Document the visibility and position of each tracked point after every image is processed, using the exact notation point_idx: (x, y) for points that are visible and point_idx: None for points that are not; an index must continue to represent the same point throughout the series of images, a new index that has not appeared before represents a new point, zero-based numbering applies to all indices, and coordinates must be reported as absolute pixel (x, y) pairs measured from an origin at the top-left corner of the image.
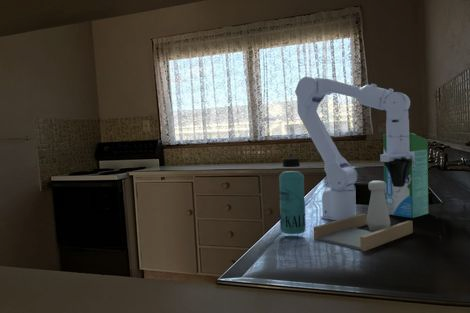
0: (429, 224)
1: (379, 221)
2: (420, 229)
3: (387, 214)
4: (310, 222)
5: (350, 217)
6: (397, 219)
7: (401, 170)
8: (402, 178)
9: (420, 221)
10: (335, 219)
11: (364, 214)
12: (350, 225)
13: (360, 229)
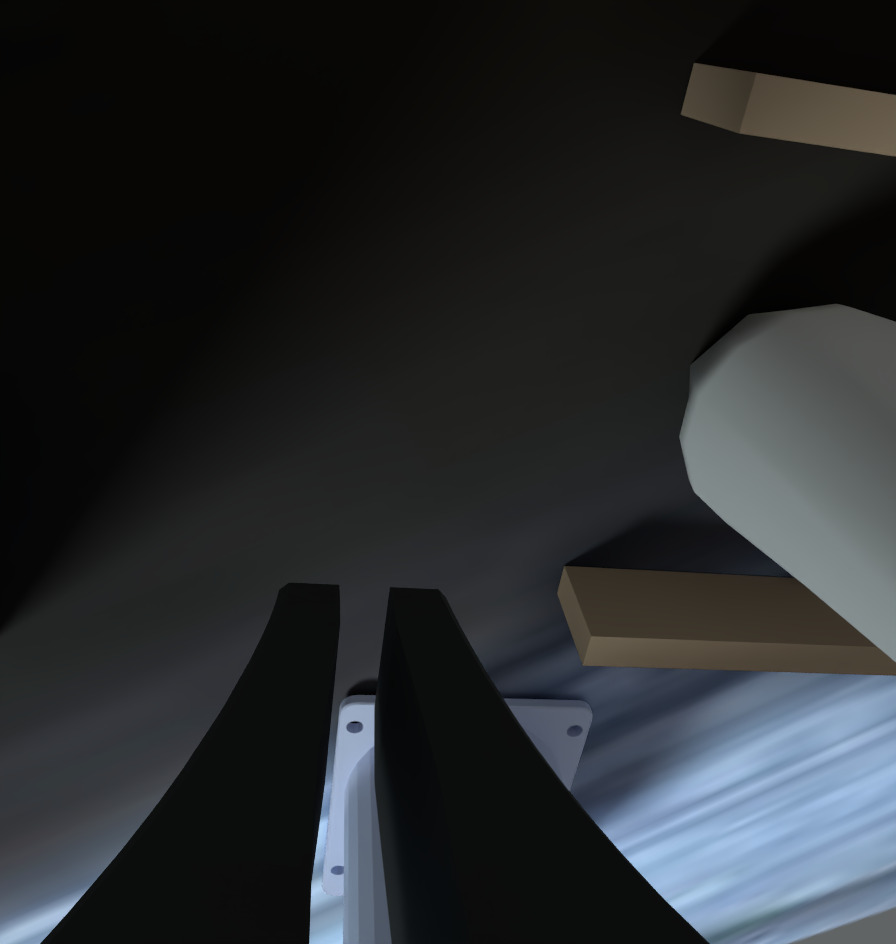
0: (134, 35)
1: None
2: (478, 43)
3: (893, 365)
4: (692, 854)
5: (813, 661)
6: (148, 449)
7: (664, 910)
8: (446, 702)
9: (50, 199)
10: (569, 788)
11: (622, 637)
12: (816, 601)
13: None
